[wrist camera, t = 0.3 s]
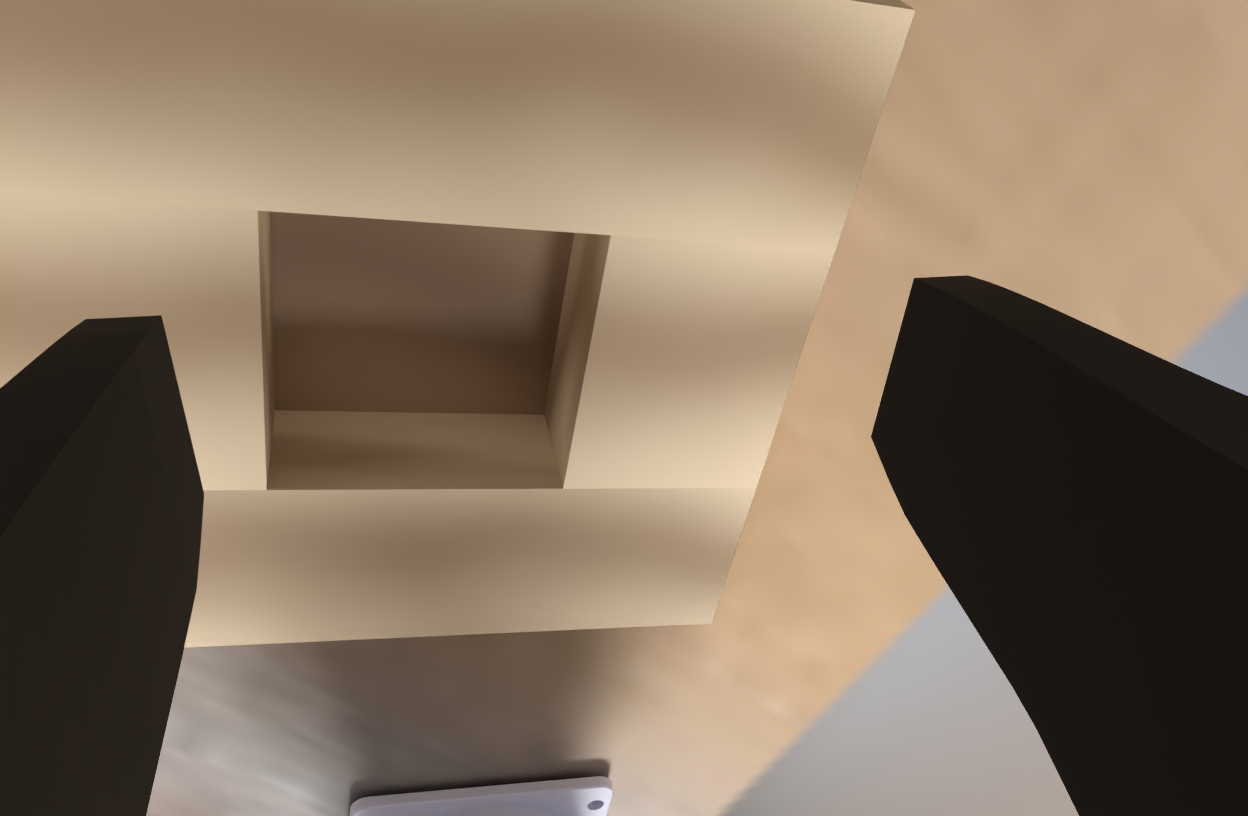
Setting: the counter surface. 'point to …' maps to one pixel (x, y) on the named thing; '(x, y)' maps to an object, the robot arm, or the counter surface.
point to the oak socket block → (446, 281)
